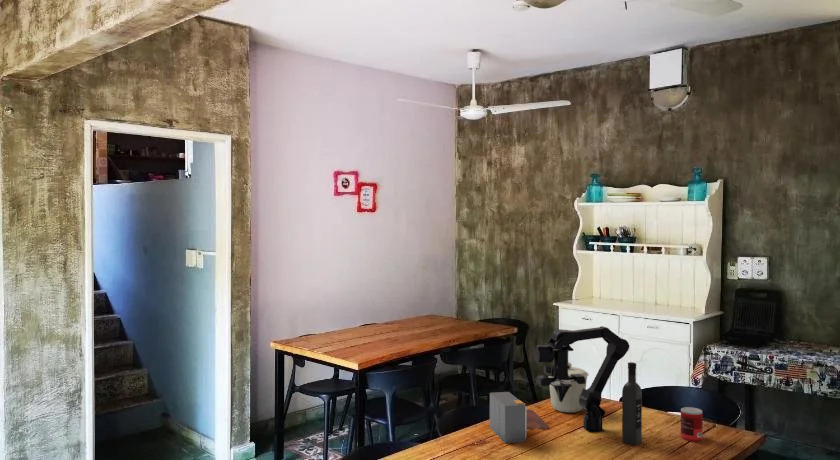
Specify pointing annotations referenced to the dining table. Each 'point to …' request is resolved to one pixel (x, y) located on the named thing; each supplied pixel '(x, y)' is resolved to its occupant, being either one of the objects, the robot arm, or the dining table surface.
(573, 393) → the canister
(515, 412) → the small drawer cabinet
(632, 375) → the wine bottle
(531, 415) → the wooden tablet
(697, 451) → the dining table surface
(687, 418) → the canned food
